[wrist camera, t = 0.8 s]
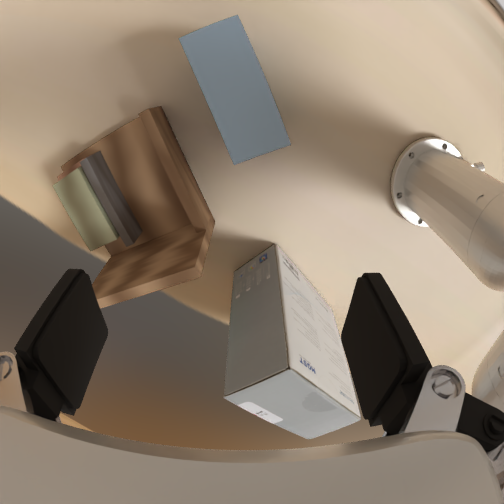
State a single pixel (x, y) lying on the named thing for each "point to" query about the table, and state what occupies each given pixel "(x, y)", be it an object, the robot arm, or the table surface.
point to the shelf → (138, 209)
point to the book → (235, 89)
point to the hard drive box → (286, 350)
